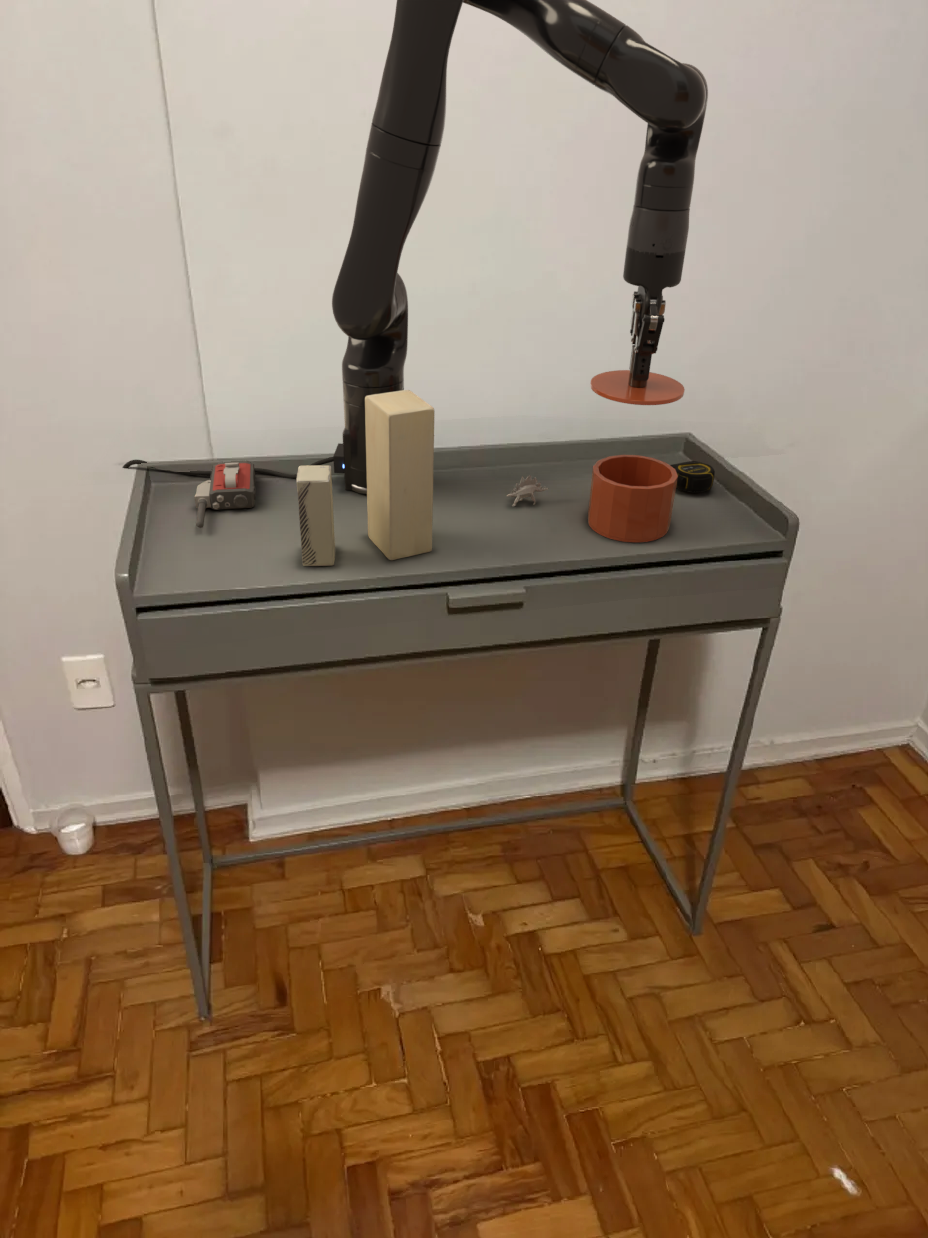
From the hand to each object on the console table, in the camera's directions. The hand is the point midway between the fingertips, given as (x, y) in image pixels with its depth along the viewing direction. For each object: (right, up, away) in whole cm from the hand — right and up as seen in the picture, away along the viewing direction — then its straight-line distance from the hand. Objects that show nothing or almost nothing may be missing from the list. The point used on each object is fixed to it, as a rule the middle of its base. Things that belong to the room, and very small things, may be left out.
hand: (638, 375), depth 129 cm
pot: (0, -19, +10) cm, 22 cm away
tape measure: (+12, -12, +22) cm, 28 cm away
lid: (0, -2, +1) cm, 2 cm away
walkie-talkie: (-60, -16, +13) cm, 64 cm away
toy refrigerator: (-33, -23, +3) cm, 40 cm away
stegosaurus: (-14, -16, +16) cm, 26 cm away
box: (-44, -26, -1) cm, 51 cm away
